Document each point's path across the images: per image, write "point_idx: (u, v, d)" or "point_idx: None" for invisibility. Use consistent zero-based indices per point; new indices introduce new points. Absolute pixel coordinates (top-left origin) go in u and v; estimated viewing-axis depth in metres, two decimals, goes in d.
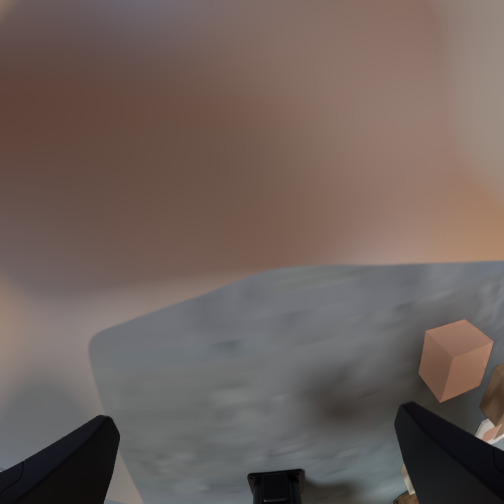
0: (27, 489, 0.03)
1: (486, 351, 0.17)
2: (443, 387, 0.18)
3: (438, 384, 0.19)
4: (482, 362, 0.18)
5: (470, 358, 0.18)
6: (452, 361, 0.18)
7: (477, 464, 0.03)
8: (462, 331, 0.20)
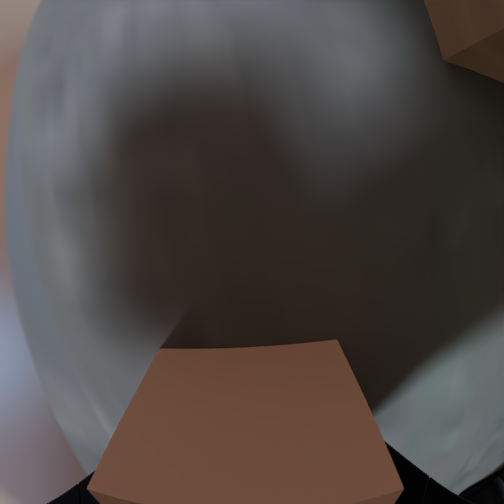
0: None
1: None
2: None
3: None
4: None
5: None
6: None
7: (406, 496, 0.03)
8: None
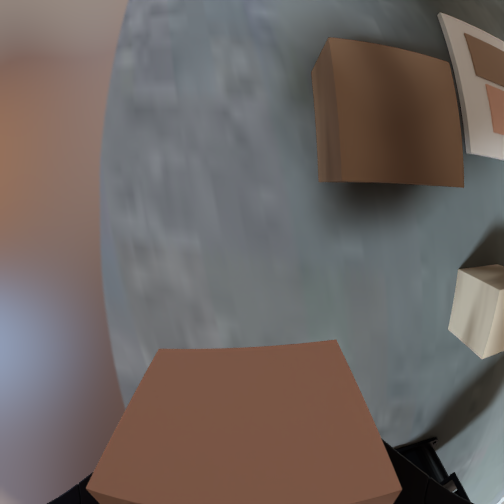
0: None
1: None
2: None
3: None
4: None
5: None
6: None
7: (406, 496, 0.03)
8: None
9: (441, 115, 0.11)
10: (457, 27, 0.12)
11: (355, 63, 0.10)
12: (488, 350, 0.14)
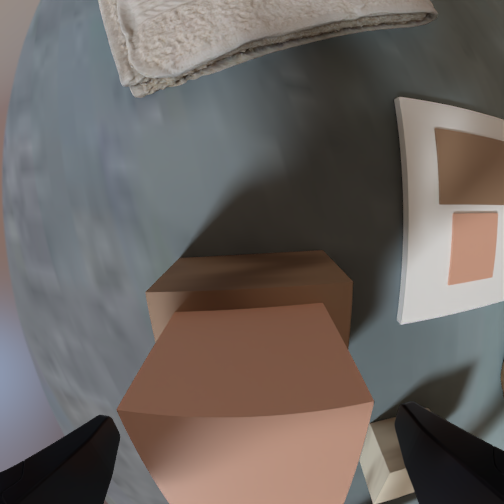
0: (27, 489, 0.03)
1: (160, 436, 0.05)
2: None
3: None
4: (217, 442, 0.05)
5: (182, 484, 0.05)
6: None
7: (478, 464, 0.03)
8: None
9: None
10: (425, 119, 0.12)
11: None
12: (381, 499, 0.13)
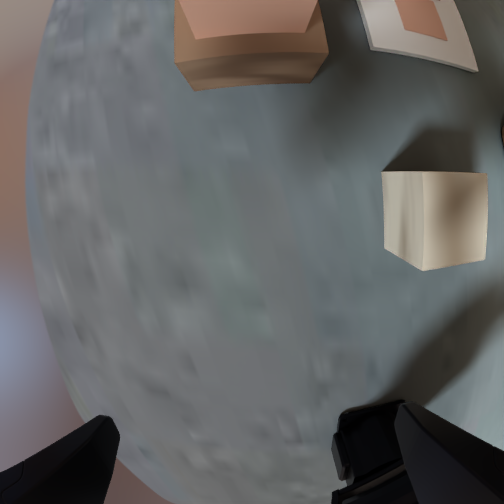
0: (27, 489, 0.03)
1: None
2: None
3: None
4: None
5: None
6: None
7: (478, 464, 0.03)
8: None
9: None
10: None
11: None
12: (430, 258, 0.13)
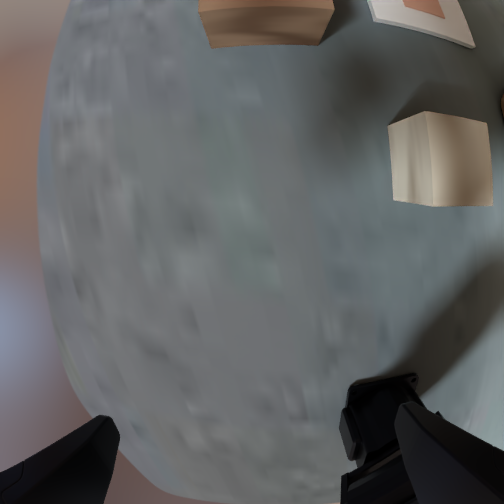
0: (27, 489, 0.03)
1: None
2: None
3: None
4: None
5: None
6: None
7: (478, 464, 0.03)
8: None
9: None
10: None
11: None
12: (439, 194, 0.12)
